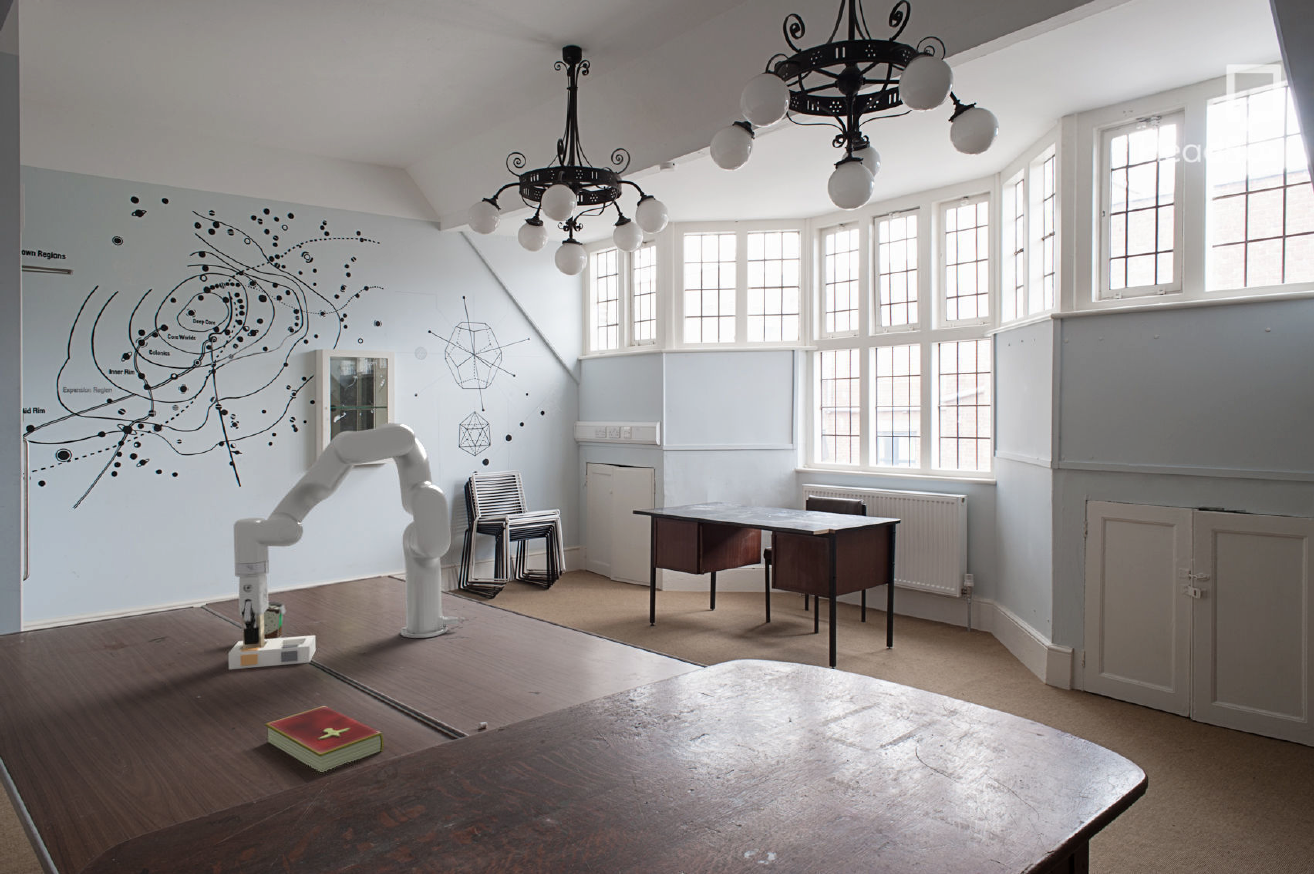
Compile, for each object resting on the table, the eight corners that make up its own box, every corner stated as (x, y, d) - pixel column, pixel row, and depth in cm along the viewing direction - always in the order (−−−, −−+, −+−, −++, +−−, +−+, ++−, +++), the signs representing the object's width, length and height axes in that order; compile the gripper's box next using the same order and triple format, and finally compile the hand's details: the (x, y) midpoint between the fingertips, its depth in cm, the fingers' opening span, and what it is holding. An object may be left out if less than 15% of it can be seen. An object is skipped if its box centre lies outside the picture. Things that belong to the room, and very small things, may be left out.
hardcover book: (326, 724, 156) (326, 703, 156) (383, 752, 142) (383, 730, 142) (265, 744, 147) (264, 722, 146) (320, 777, 133) (319, 752, 133)
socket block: (315, 650, 203) (315, 634, 203) (309, 662, 193) (308, 645, 193) (239, 656, 198) (238, 640, 198) (228, 669, 188) (228, 652, 188)
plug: (264, 650, 197) (263, 611, 196) (261, 654, 193) (260, 614, 193) (247, 651, 196) (246, 612, 195) (243, 656, 192) (242, 616, 191)
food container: (295, 637, 215) (294, 601, 215) (282, 643, 209) (281, 606, 208) (253, 636, 216) (252, 600, 216) (239, 642, 210) (238, 606, 210)
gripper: (261, 573, 186) (263, 649, 187) (275, 561, 203) (277, 630, 203) (226, 576, 184) (228, 652, 185) (243, 562, 201) (245, 633, 201)
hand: (253, 640), depth 194 cm, fingers closed on plug, 3 cm apart
